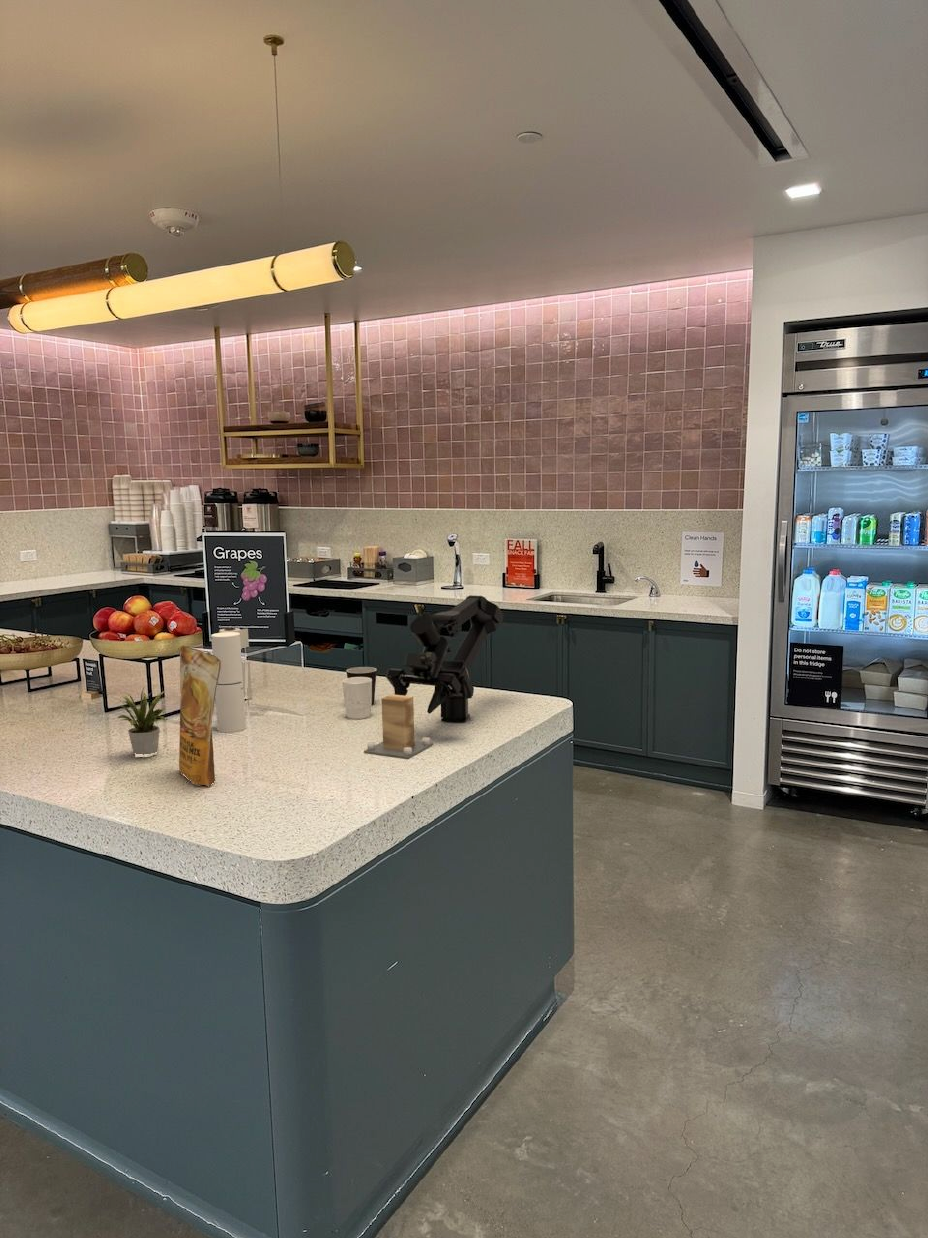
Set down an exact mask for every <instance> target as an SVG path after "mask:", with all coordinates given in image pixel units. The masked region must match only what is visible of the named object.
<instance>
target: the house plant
mask: <svg viewBox="0 0 928 1238" xmlns="http://www.w3.org/2000/svg"><path fill="white" fill-rule="evenodd" d="M144 690H145V687H143V688H142V691H141V692H140V693H141V694H140V707H139V708H137V706H136V703H135V701H134V699H133V697H132V696H131V695H130V694H129V693H127V692H125V694H126V695H125V694H122V696H121V697H122V698H123V699H124V701H122V700H120V699H119V698H117V697H114V696H112V698H113V699H117V700H119V702H120V703H122V704H123V705H120V707H121V708H122V709H123V708H124V709H125V711H127V713H128V714H129V716H130V717H129V716H127V715H126V714H125V715H124V714H119V715H118V716H117V718H116V719H120V720H119V721H128V722H129V723H130V727H131V728H129V729H128V731H127V732H128V736H129V740H130V744H131V749H132V752H133V754H134V753H136V754H143V755H144V754H151V753H155V752H157V751H159V740H160V739H159V738H160V727H159V726H157V725H154V724H155V723H156V724H158V719H161V720H163V721H164V722H166V718H165V716H163V715H161V714H162V713H163V712H164V710H165V708H161V709H160V708H158V709H156V710H154V709H155V706H157V703H159V701H160V700H161V697H162V695H163V694H164V693H165V692H166V691H167V690H163V691H161V692H160V693H158V695H156V696H155V698H154V699H153V701H152V702H151V703H150V701H149V702H148V700H147V699H148V697H149V696H150V695H151V694H152V693H153V691H152V692H150V693H149V694H148V695H147V694H146V693H145V692H144ZM127 695H128V696H129V697H128V696H127ZM146 695H147V696H146ZM129 698H130V699H129ZM163 698H167V696H164V697H162V699H163ZM148 703H150V705H149V707H148V710H147V706H148ZM126 704H127V705H128V706H129V707H130V708H131V709H130V708H129V707H128V706H127V705H126ZM116 707H118V706H116ZM153 710H154V711H153ZM132 711H133V712H132ZM132 726H133V727H132Z"/></svg>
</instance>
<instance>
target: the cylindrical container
mask: <svg viewBox="0 0 928 1238" xmlns="http://www.w3.org/2000/svg"><path fill="white" fill-rule="evenodd" d="M210 639H211V648H212V649H211V651H212V655H214V656H216V657H217V658H218V659H219V660H220V661H221V669H220V674H219V678H218V683H217V687H216V693H215V711H216V728H217V732H219V733H222V732H223V733H224V732H225V733H224V734H227V733H228V734H230V733H232V732H233V733H239V732H241V731H244V730H245V729H246V728H247V727H246V723H247V722H246V710H245V707H246V706H245V700H244V691H243V674H242V658H241V641H240V633H238V632H222V633H219V632H217V633H213V634H211V638H210Z"/></svg>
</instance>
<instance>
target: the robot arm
mask: <svg viewBox="0 0 928 1238" xmlns="http://www.w3.org/2000/svg"><path fill="white" fill-rule="evenodd" d="M468 620H470V623H471V624H470V625H471V626H470V628H469V630H468V632H467V634H466V635H465V637H464V639H463V640H462V642H461V644H460V646H459V648H458V649H457V651H456V653H455V655H454V657H453V659H452V660H445V658H446V655H447V653H451V652H452V647H451V646H450V645H451V644H450V641H448V640H447V638H456V637H457V636H458V635H459V634H460V632H461V631H462V625H464V624H465V623H466V622H467V621H468ZM503 620H504V613H503V611H502V609H500V607H499V606H498V605H497V604H495V603H493V602H491V601H489V600H488V599H487V598H486V597H485V596H483V595H469V596H466V597H465V599H464V600H462V601H461V602H460V603H458V604H457V605H455V606H454V607H452V608H451V609H450V610H448V611H442V612H441V611H440V612H437V613H434V614H431V613H430V612H422V614H421V615H420V616H418V617H416V618H415V619H414V620H412V621H411V623H410V625H409V629H410V631H411V633H412V635H413V636H414V637H415V639H416V641H418V644H419V645H420V646H422V647H423V649H422V652H421V653H413V652H406V653H405V659H404V664H403V665H404V667H407V668H408V667H409V671H410V673H412V674H413V675H409V674H407V673H406V671H405V670H404V669H401V668H390V669H388V670H387V672H386V675H385V678H386V679H387V681H388V682H389V683H390V684H391V686H392V688H393V689H394V690H393V691H394V695H403V696H407V694H408V692H409V690H408V688H410V685H411V684H414V685H424V686H434V691H433V695H432V697H431V699H430V701H429V704H428V707H427V710H426V711H427V713H428V715H430V714H432V712H434V711H435V710H436V709H437V708H438V707H439V706H440V718H441V719H440V720H441V722H448V723H449V722H452V723H465V722H467V720H468V719H469V718H470V717H471V715H470V714H469V699H472V698H473V696H474V693H475V692H474V690H475V689H474V685H473V684H472V683H471V680H470V676H469V669H470V667H471V666H472V664H473V662H474V660H475V659H476V657H477V655H478V653H479V652H480V651H479V650H480V649H481V647H482V646H483V644H484V642H485V640H486V638H487V636H489V635H491V634H493V633H495V632H496V631H497V630H498V628H499V627H500V626H501V624H502V623H503Z"/></svg>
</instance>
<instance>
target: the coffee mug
mask: <svg viewBox="0 0 928 1238" xmlns="http://www.w3.org/2000/svg"><path fill="white" fill-rule="evenodd" d="M377 671H378V670H377V668H376V667H371V666H359V667H350V668H347V669H346V671H345V672H346V677H347V678H352V677H368V678H371V679H372V706H374V705H375V699H376V698H375V697H376V695H375V694H376V687H377V686H376V685H377V684H376V683H377ZM347 678H346V679H347Z"/></svg>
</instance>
